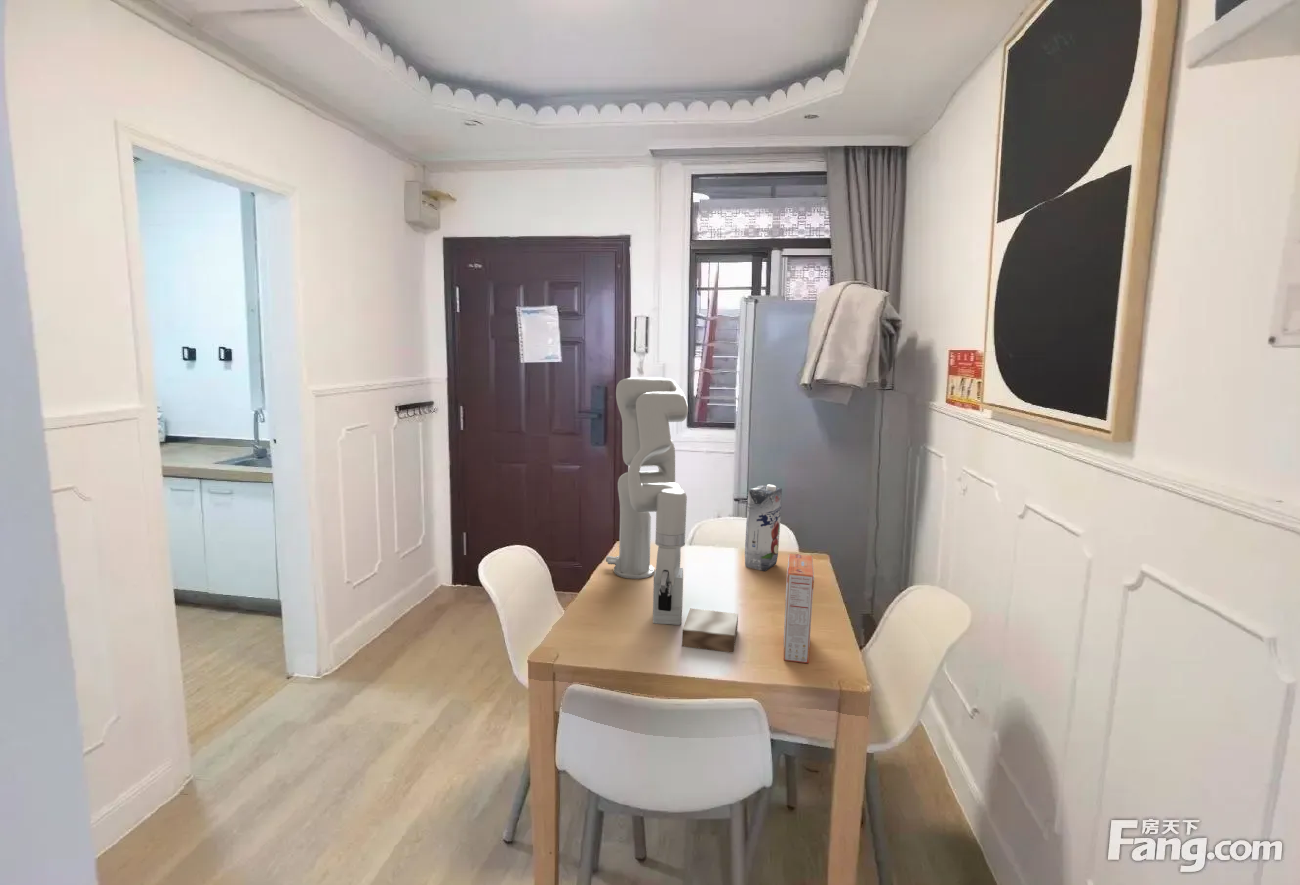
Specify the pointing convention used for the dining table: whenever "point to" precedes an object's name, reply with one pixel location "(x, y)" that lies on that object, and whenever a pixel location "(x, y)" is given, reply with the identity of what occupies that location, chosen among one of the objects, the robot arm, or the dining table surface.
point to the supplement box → (676, 602)
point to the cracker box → (798, 608)
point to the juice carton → (763, 527)
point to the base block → (710, 630)
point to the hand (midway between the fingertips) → (668, 602)
